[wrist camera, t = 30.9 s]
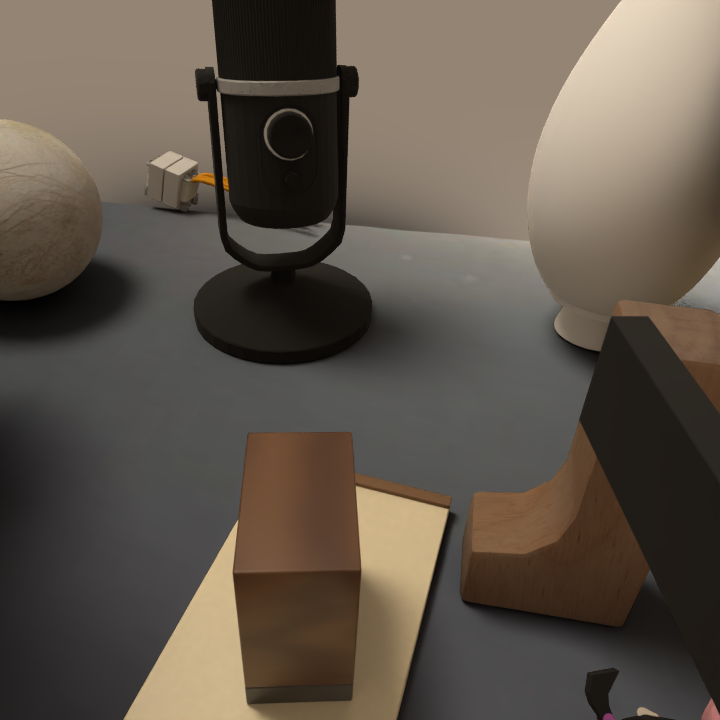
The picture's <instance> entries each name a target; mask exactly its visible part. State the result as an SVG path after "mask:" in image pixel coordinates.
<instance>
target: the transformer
mask: <svg viewBox="0 0 720 720" xmlns="http://www.w3.org/2000/svg"><path fill="white" fill-rule="evenodd" d="M147 165H148V166H149V168H148V183H147V184H146V185H145V187H146V188H145V195H146V196H148V197H149V198H152V199H154V200H156V201H159V202H162V203H163V204H166V205H168V206H170V207H173V208H175V209H176V208H178V207H179V206H180V208H179V210H181V211H184V212H187V211H188V210H189V207H190V206H191V203H192V204H194V205H196V204H197V201H198V194H197V189H198V186H199V183H200V182H201V183H204V184H207V185H211V186H215V180H214V174H210V173H203V174H201V173H200V172H198V163H197V162H195V161H193V160H190V159H188V158H183V156H181V155H179V154H176V153H174V152H171V151H169V152H167V153H166V154H164V155H162V156H158V157H156V158H154V160H151V161H150V162H147ZM223 185H224V190H226V191H228V192H229V187H228V178H225V177H223Z"/></svg>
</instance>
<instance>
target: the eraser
mask: <svg viewBox="0 0 720 720" xmlns="http://www.w3.org/2000/svg"><path fill="white" fill-rule="evenodd" d="M361 572H362V568H361V554H360V540H359V526H358V512H357V498H356V483H355V469H354V455H353V441H352V433H351V432H311V433H248V435H247V444H246V454H245V463H244V472H243V481H242V490H241V499H240V508H239V518H238V527H237V536H236V545H235V554H234V563H233V583H234V592H235V601H236V610H237V619H238V628H239V638H240V647H241V656H242V665H243V674H244V684H245V693H246V702H247V704H267V703H295V702H324V701H351V700H352V698H353V682H354V670H355V656H356V642H357V628H358V614H359V600H360V586H361Z"/></svg>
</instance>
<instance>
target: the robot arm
mask: <svg viewBox="0 0 720 720" xmlns="http://www.w3.org/2000/svg"><path fill="white" fill-rule="evenodd" d="M579 421H580V423H581V425H582V427H583V429H584V431H585V433H586V435H587V437H588V440H589V442H590V444H591V446H592V448H593V450H594V452H595V454H596V456H597V459H598V461H599V463H600V465H601V467H602V469H603V471H604V473H605V475H606V477H607V480H608V482H609V484H610V486H611V488H612V490H613V492H614V494H615V496H616V498H617V501H618V503H619V505H620V507H621V509H622V511H623V513H624V515H625V517H626V519H627V522H628V524H629V526H630V528H631V530H632V532H633V534H634V536H635V538H636V540H637V543H638V545H639V547H640V549H641V551H642V553H643V555H644V557H645V559H646V561H647V564H648V566H649V568H650V570H651V572H652V574H653V576H654V578H655V580H656V582H657V585H658V587H659V589H660V591H661V593H662V595H663V597H664V599H665V601H666V603H667V606H668V608H669V610H670V612H671V614H672V616H673V618H674V620H675V622H676V624H677V627H678V629H679V631H680V633H681V635H682V637H683V639H684V641H685V643H686V645H687V648H688V650H689V652H690V654H691V656H692V658H693V660H694V662H695V664H696V667H697V669H698V671H699V673H700V675H701V677H702V679H703V681H704V683H705V685H706V688H707V690H708V692H709V694H710V696H711V698H712V700H713V702H714V704H715V706H716V709H717V711H718V713H719V715H720V413H719V412H718V410H717V409H716V408H715V406H714V405H713V404H712V402H711V401H710V400H709V398H708V397H707V395H706V394H705V393H704V391H703V390H702V389H701V387H700V386H699V385H698V383H697V382H696V380H695V379H694V378H693V376H692V375H691V374H690V372H689V371H688V370H687V368H686V367H685V365H684V364H683V363H682V361H681V360H680V359H679V357H678V356H677V355H676V353H675V352H674V350H673V349H672V348H671V346H670V345H669V344H668V342H667V341H666V340H665V338H664V337H663V335H662V334H661V333H660V331H659V330H658V329H657V327H656V326H655V325H654V323H653V322H652V320H651V319H650V318H649V316H611V319H610V322H609V325H608V328H607V332H606V335H605V338H604V341H603V345H602V348H601V351H600V354H599V358H598V361H597V364H596V367H595V370H594V374H593V377H592V380H591V383H590V387H589V390H588V393H587V396H586V399H585V403H584V406H583V409H582V412H581V416H580V419H579Z"/></svg>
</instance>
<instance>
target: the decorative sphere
mask: <svg viewBox="0 0 720 720" xmlns="http://www.w3.org/2000/svg"><path fill="white" fill-rule="evenodd" d="M102 221H103V215H102V204H101V200H100V196H99V193H98V190H97V187H96V184H95V182H94V180H93V178H92V176H91V175H90V173H89V171H88V170H87V168H86V167H85V165H84V164H83V162H82V161H81V160H80V159H79V158H78V157H77V155H75V153H74V152H73V151H72V150H70V149H69V148H68V147H67V146H66V145H65V144H63V143H62V142H61V141H60V140H58V139H56V138H55V137H53V136H52V135H50V134H48V133H47V132H44V131H42V130H40V129H38V128H35V127H33V126H31V125H27V124H24V123H20V122H16V121H11V120H1V119H0V300H6V301H18V300H29V299H34V298H38V297H42V296H45V295H48V294H51V293H53V292H55V291H57V290H59V289H61V288H63V287H64V286H66V285H67V284H69V283H71V282H72V281H73V280H74V279H75V278H76V277H77V276H78V275H80V274H81V273H82V272H83V270H84V269H85V268H86V267H87V265H88V264H89V262H90V261H91V259H92V258H93V256H94V254H95V252H96V250H97V247H98V244H99V241H100V237H101V233H102Z"/></svg>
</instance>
